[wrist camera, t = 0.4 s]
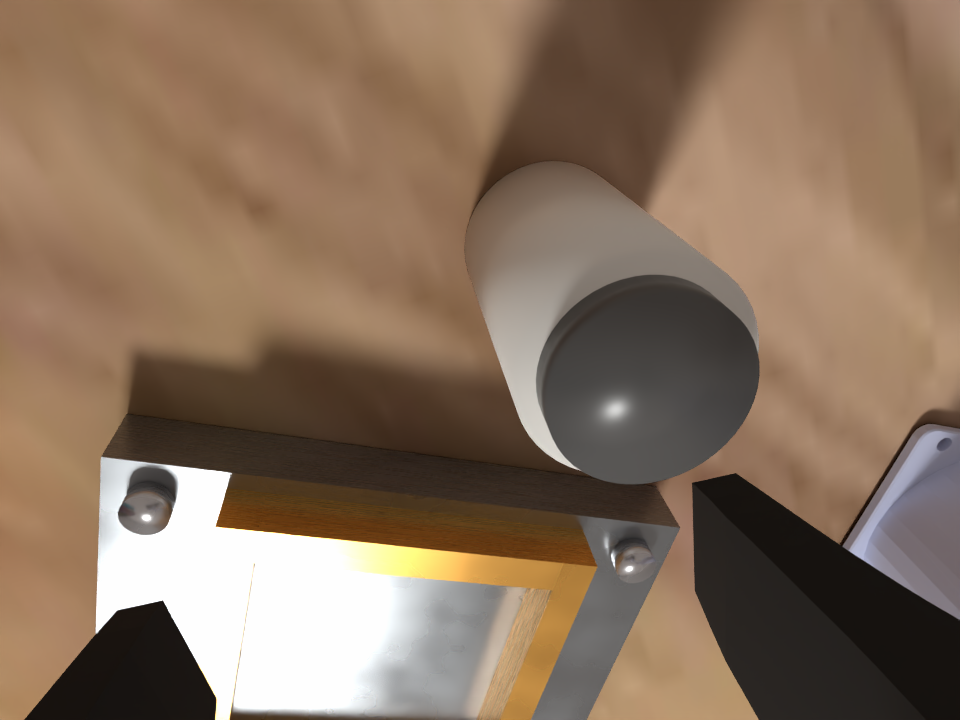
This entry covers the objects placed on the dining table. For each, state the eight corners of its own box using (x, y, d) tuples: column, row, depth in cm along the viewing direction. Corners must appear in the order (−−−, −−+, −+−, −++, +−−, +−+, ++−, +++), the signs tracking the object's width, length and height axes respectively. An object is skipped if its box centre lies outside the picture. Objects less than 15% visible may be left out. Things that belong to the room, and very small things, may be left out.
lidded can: (652, 183, 18) (829, 298, 11) (597, 335, 19) (718, 515, 13) (489, 141, 17) (570, 240, 10) (446, 306, 18) (490, 485, 12)
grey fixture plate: (656, 486, 22) (701, 563, 19) (547, 725, 27) (569, 817, 24) (126, 413, 19) (77, 495, 16) (113, 706, 24) (73, 812, 21)
